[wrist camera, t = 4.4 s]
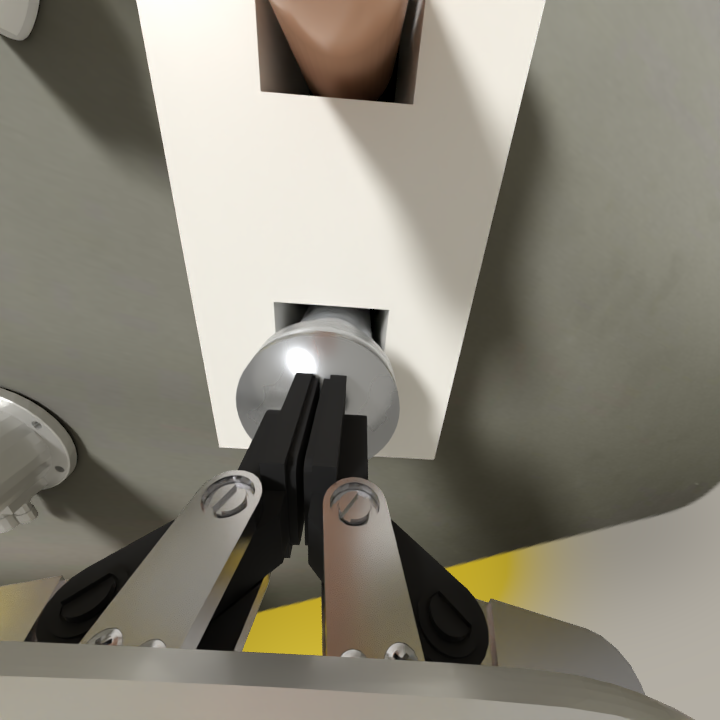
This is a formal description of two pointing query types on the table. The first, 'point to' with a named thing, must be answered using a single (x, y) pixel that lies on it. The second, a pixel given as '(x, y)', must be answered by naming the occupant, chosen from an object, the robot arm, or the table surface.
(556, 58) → the table surface
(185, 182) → the block
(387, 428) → the grey plug
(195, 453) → the table surface
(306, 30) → the terracotta plug
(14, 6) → the eye dropper bottle
